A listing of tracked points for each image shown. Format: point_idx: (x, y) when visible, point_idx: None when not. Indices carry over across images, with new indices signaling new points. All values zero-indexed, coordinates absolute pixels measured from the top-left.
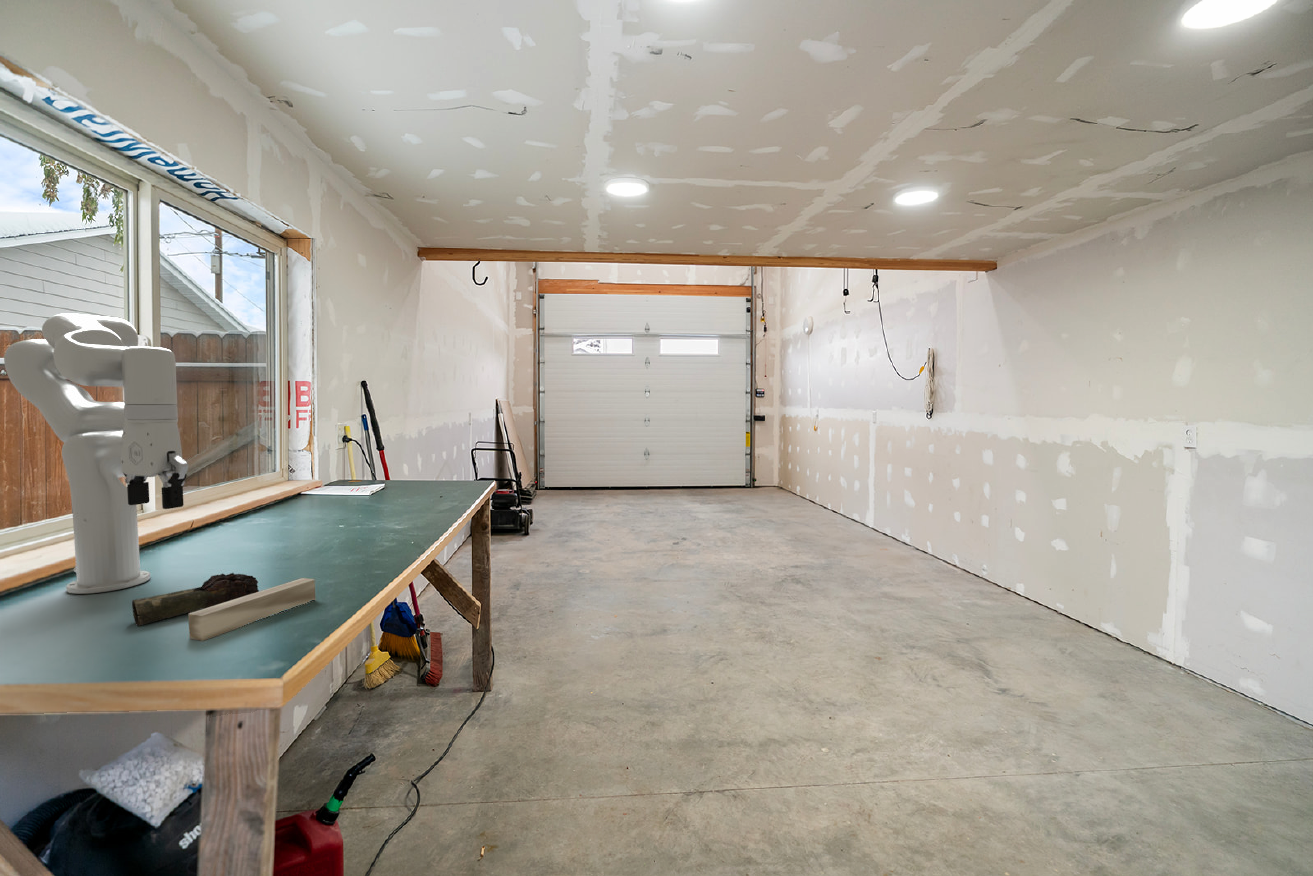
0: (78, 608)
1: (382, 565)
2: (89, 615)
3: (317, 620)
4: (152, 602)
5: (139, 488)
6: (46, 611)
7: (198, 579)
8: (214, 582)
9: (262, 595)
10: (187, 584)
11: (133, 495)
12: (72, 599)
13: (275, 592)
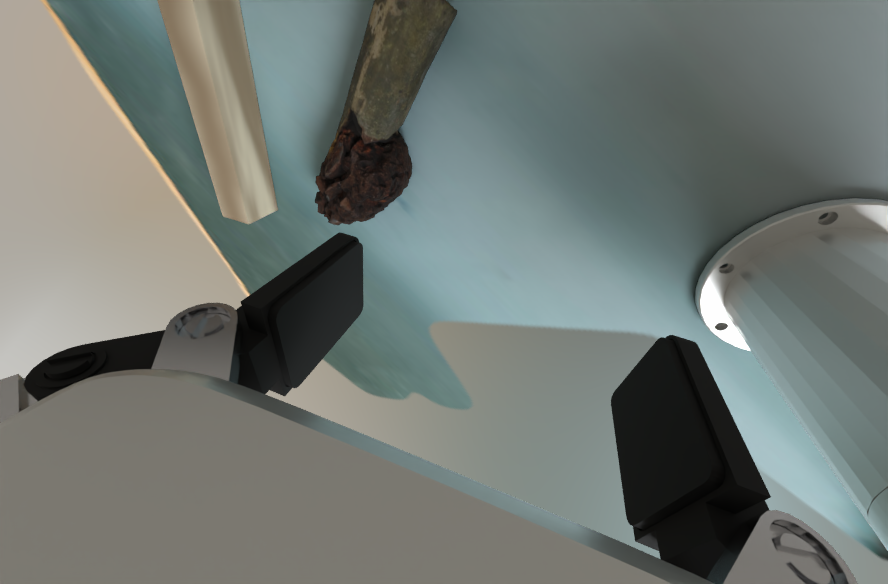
0: (739, 81)
1: (324, 358)
2: (641, 27)
3: (156, 106)
4: (377, 7)
5: (658, 464)
6: (855, 28)
7: (572, 313)
8: (346, 161)
9: (192, 103)
10: (569, 283)
11: (670, 394)
12: (839, 157)
13: (197, 130)
